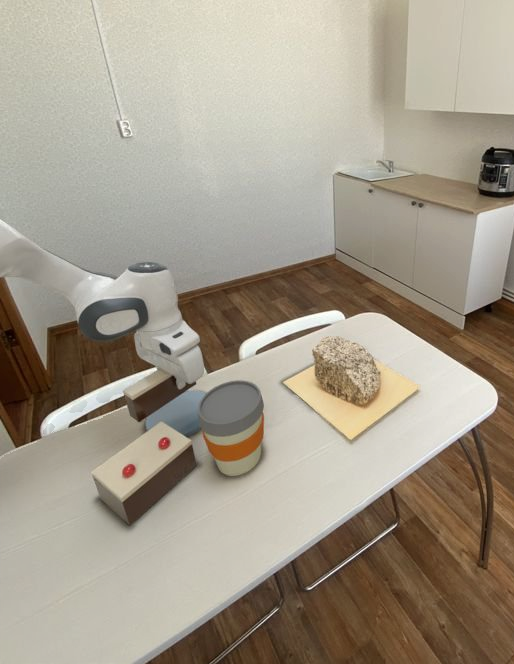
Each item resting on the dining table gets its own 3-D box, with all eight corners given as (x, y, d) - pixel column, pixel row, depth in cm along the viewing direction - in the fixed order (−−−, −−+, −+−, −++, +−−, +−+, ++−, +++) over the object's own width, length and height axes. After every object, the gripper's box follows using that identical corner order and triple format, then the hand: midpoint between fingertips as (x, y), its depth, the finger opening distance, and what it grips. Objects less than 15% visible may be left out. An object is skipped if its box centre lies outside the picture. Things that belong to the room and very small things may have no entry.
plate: (133, 425, 90) (131, 421, 89) (188, 386, 102) (187, 383, 101) (172, 452, 83) (171, 448, 82) (227, 407, 95) (226, 403, 94)
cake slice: (130, 416, 83) (122, 390, 80) (187, 379, 94) (182, 355, 91) (138, 422, 81) (131, 396, 79) (196, 384, 92) (191, 360, 90)
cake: (100, 498, 73) (88, 465, 70) (167, 445, 84) (159, 414, 81) (130, 526, 68) (118, 491, 65) (197, 465, 79) (189, 433, 76)
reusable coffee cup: (233, 427, 89) (224, 374, 84) (280, 441, 85) (274, 387, 79) (194, 473, 78) (181, 415, 72) (246, 492, 74) (236, 432, 68)
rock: (280, 382, 102) (300, 324, 103) (336, 383, 118) (354, 332, 118) (348, 440, 83) (373, 367, 83) (406, 432, 98) (426, 371, 99)
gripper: (121, 326, 86) (135, 376, 91) (178, 353, 76) (190, 407, 81) (148, 313, 91) (159, 361, 96) (204, 337, 82) (214, 389, 86)
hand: (174, 383), depth 89 cm, fingers closed on cake slice, 3 cm apart
